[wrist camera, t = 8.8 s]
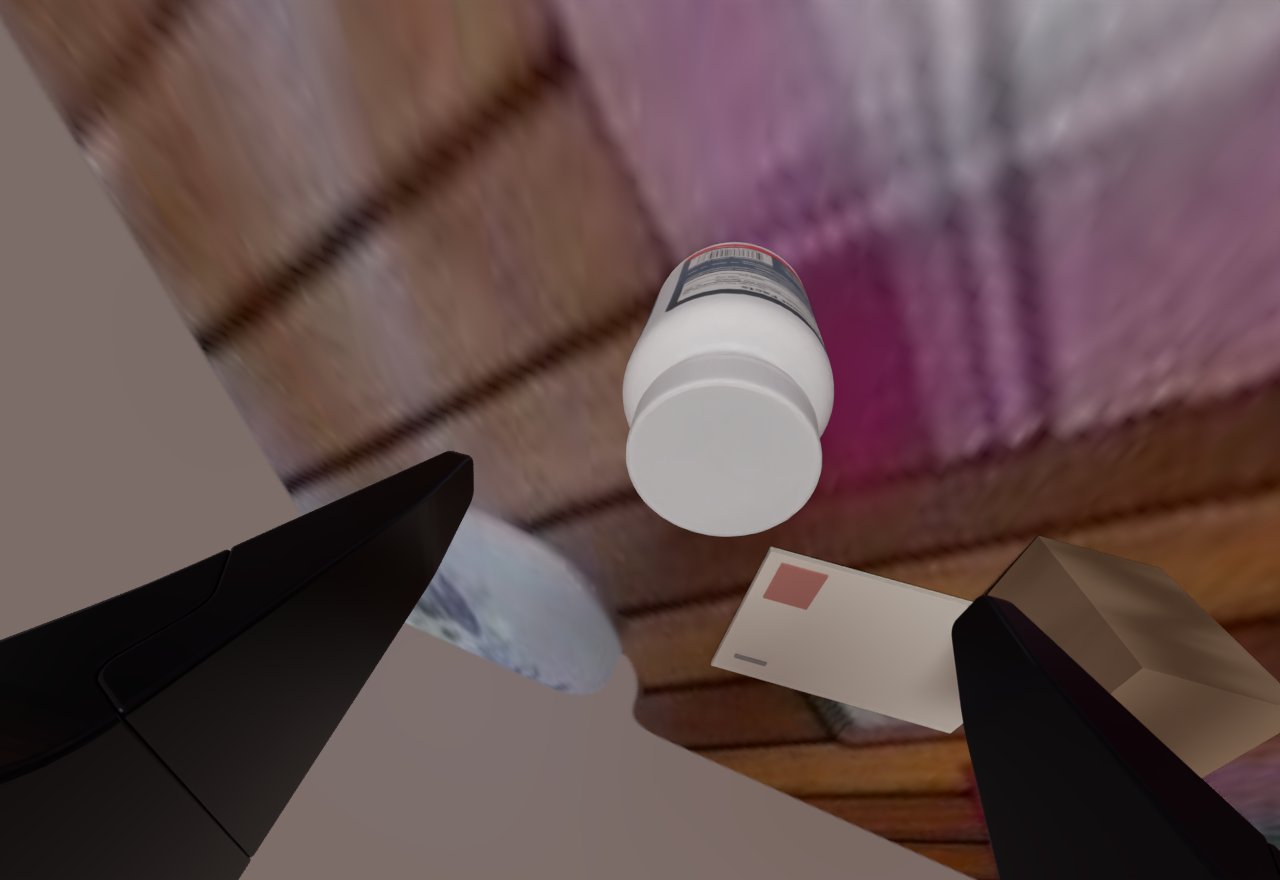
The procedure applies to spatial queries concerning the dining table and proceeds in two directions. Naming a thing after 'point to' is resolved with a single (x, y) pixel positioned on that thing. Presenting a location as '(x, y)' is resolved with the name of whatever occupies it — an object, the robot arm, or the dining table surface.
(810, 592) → the letter
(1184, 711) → the walnut block
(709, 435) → the pill bottle
